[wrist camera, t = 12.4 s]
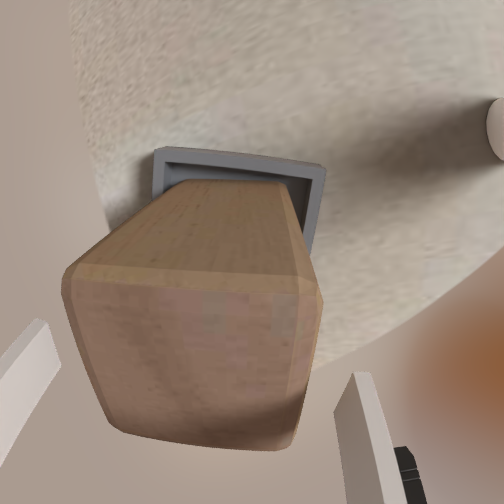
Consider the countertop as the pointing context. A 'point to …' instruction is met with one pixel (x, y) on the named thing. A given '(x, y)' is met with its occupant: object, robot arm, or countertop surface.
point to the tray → (244, 177)
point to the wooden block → (200, 316)
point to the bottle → (496, 127)
